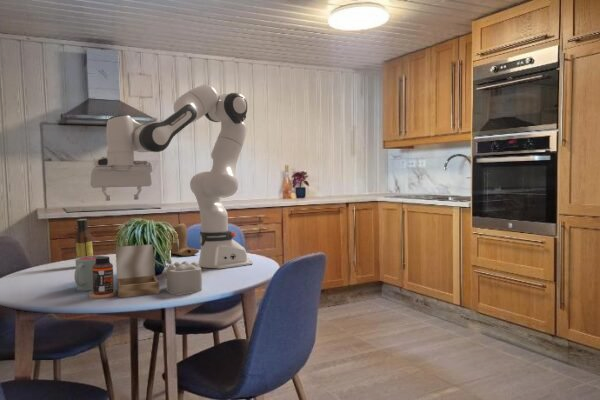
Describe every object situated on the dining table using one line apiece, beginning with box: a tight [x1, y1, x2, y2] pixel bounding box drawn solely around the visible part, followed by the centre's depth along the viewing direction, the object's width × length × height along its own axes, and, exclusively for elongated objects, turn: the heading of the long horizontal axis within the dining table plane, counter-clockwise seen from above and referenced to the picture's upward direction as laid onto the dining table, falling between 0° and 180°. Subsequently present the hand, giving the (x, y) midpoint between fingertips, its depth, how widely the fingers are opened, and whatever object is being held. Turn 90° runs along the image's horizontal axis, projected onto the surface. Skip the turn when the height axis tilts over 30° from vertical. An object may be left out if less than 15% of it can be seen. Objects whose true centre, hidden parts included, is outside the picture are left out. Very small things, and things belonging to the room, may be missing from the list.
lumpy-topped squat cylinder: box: [165, 260, 203, 295], centre depth 152 cm, size 10×13×9 cm
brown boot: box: [170, 223, 200, 257], centre depth 219 cm, size 15×12×15 cm
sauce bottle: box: [74, 218, 94, 258], centre depth 194 cm, size 7×6×20 cm
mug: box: [74, 255, 103, 292], centre depth 154 cm, size 14×9×10 cm
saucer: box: [89, 289, 117, 300], centre depth 145 cm, size 8×8×1 cm
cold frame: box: [115, 244, 160, 298], centre depth 152 cm, size 12×16×14 cm
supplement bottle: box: [92, 255, 115, 295], centre depth 145 cm, size 6×6×11 cm
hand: (122, 200), depth 164 cm, fingers open, 8 cm apart
